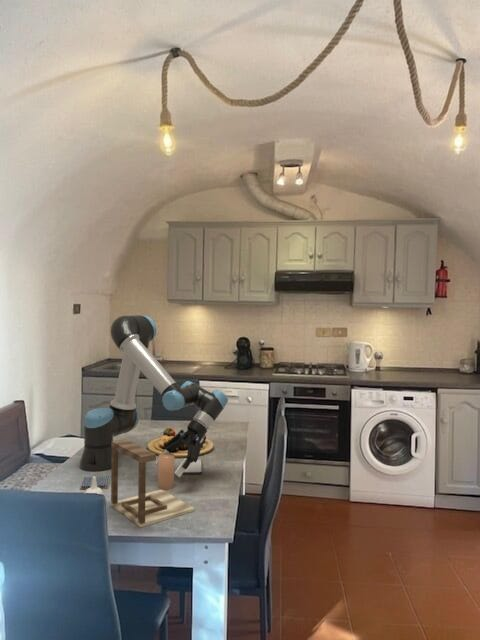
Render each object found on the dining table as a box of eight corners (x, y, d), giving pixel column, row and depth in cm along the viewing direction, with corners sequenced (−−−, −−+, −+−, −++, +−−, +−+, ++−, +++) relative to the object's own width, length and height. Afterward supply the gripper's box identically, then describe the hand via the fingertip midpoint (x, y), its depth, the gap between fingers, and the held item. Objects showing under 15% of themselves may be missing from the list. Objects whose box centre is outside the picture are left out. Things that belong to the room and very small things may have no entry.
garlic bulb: (82, 503, 172) (81, 481, 171) (86, 494, 178) (86, 473, 177) (100, 503, 172) (100, 481, 171) (104, 494, 178) (104, 473, 177)
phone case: (202, 476, 201) (202, 462, 217) (202, 472, 201) (202, 459, 217) (180, 476, 200) (182, 463, 216) (180, 472, 200) (182, 459, 216)
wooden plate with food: (142, 441, 248) (142, 425, 247) (204, 437, 258) (204, 421, 257) (151, 463, 217) (152, 444, 217) (221, 456, 227) (222, 439, 227)
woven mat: (110, 480, 194) (111, 475, 194) (108, 490, 184) (108, 485, 184) (83, 481, 192) (83, 476, 192) (79, 491, 182) (79, 486, 182)
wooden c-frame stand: (110, 505, 169) (111, 441, 168) (161, 492, 182) (162, 432, 181) (140, 527, 153) (141, 456, 152) (194, 511, 166) (195, 445, 165)
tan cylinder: (155, 486, 187) (155, 454, 187) (168, 482, 191) (169, 452, 191) (163, 491, 183) (163, 458, 182) (177, 487, 187) (177, 455, 186)
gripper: (224, 437, 188) (191, 485, 179) (187, 424, 207) (156, 467, 198) (214, 425, 184) (179, 473, 175) (177, 413, 203) (144, 456, 194)
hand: (167, 470), depth 186 cm, fingers open, 13 cm apart
